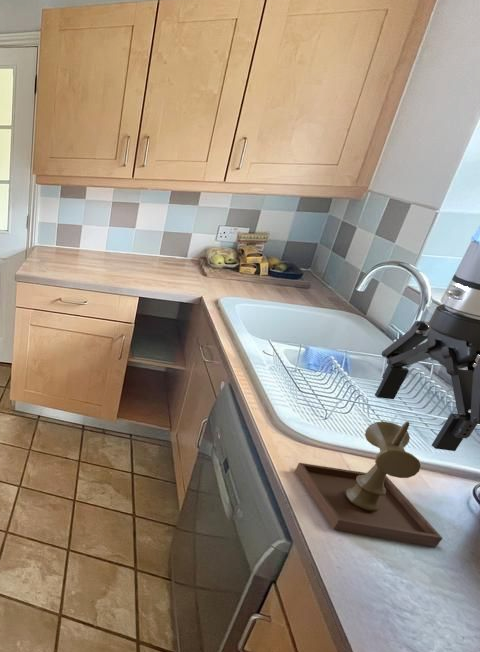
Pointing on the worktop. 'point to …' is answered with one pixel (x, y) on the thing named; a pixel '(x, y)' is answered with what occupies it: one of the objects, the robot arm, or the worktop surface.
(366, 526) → the tray
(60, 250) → the worktop surface
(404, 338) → the robot arm
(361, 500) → the kendama
